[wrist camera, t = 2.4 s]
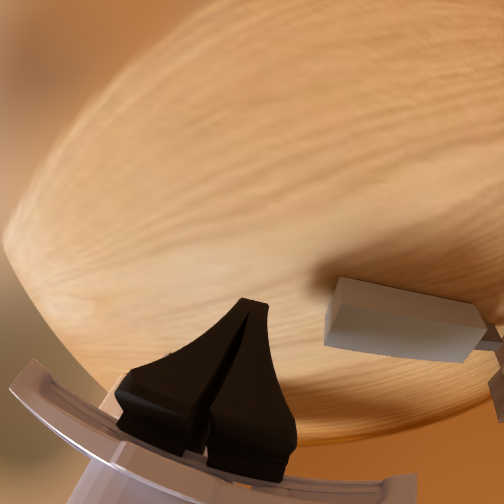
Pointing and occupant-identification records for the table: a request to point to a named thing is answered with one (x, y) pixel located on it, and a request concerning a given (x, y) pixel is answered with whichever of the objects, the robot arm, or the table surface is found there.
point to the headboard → (498, 385)
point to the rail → (405, 323)
